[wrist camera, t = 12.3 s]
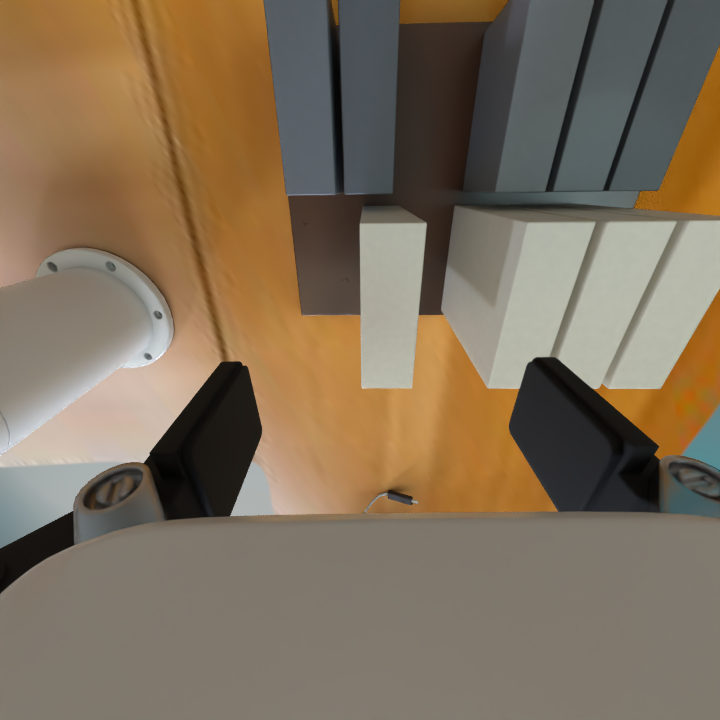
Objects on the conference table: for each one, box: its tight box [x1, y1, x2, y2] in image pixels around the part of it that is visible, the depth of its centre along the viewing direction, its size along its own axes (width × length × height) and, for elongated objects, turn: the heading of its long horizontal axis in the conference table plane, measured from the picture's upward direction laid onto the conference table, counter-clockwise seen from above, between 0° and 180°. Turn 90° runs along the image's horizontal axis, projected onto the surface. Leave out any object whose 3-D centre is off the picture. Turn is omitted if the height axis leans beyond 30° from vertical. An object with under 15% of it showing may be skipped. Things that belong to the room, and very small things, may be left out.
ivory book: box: [360, 206, 427, 388], centre depth 21 cm, size 3×9×13 cm, turn 0°
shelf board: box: [288, 22, 640, 315], centre depth 25 cm, size 28×20×2 cm
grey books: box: [264, 0, 720, 195], centre depth 19 cm, size 22×9×7 cm, turn 91°
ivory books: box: [441, 204, 720, 389], centre depth 21 cm, size 10×9×13 cm
